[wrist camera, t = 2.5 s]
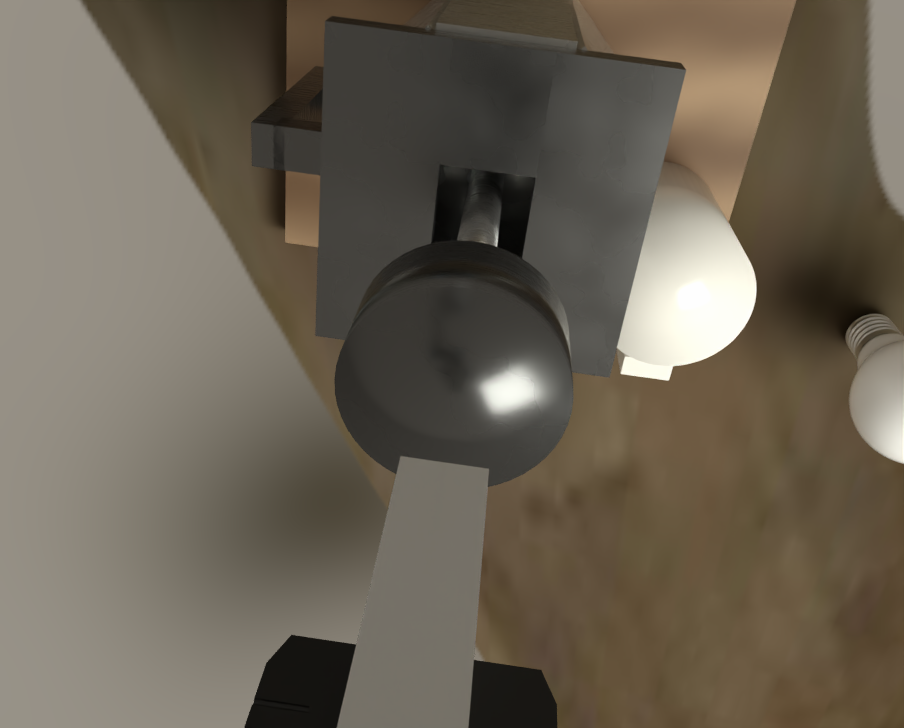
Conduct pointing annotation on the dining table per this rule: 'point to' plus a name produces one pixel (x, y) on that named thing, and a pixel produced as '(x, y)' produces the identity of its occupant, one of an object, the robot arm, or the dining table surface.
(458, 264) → the plunger
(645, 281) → the mug
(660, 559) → the dining table surface
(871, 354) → the lightbulb
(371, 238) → the carafe
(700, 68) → the board
